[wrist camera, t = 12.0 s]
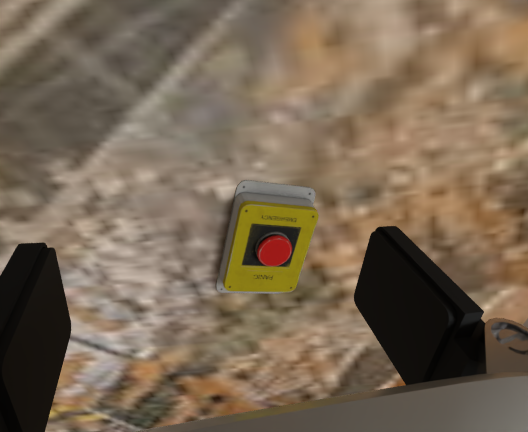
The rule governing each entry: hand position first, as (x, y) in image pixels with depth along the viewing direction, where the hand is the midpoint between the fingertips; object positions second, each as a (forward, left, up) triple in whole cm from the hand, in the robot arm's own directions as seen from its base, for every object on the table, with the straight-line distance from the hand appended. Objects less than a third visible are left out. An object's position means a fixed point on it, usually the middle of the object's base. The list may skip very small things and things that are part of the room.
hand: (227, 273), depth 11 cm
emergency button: (+17, +9, -27) cm, 33 cm away
